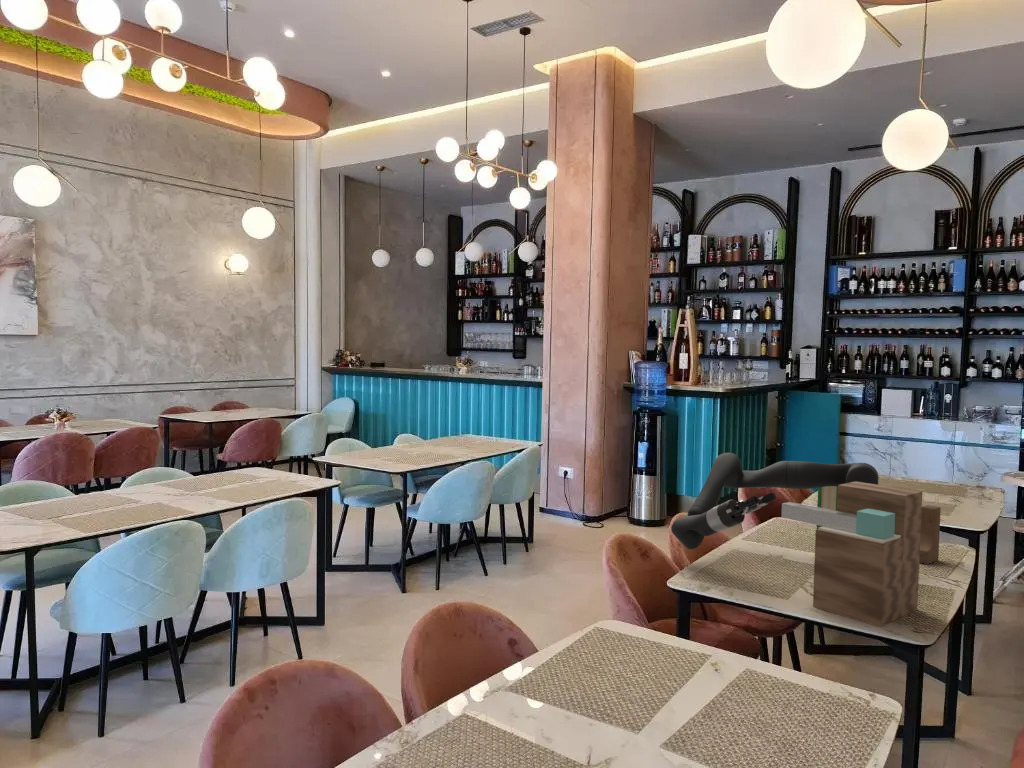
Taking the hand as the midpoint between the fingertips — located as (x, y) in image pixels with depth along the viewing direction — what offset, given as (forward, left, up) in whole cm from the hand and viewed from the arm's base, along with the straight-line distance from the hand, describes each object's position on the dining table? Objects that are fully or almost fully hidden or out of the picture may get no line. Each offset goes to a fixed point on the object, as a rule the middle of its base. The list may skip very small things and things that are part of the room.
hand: (766, 497), depth 215 cm
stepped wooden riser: (+4, +27, -26) cm, 38 cm away
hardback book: (-73, +9, -26) cm, 78 cm away
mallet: (+7, +19, -5) cm, 21 cm away
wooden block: (-58, +39, -26) cm, 75 cm away
